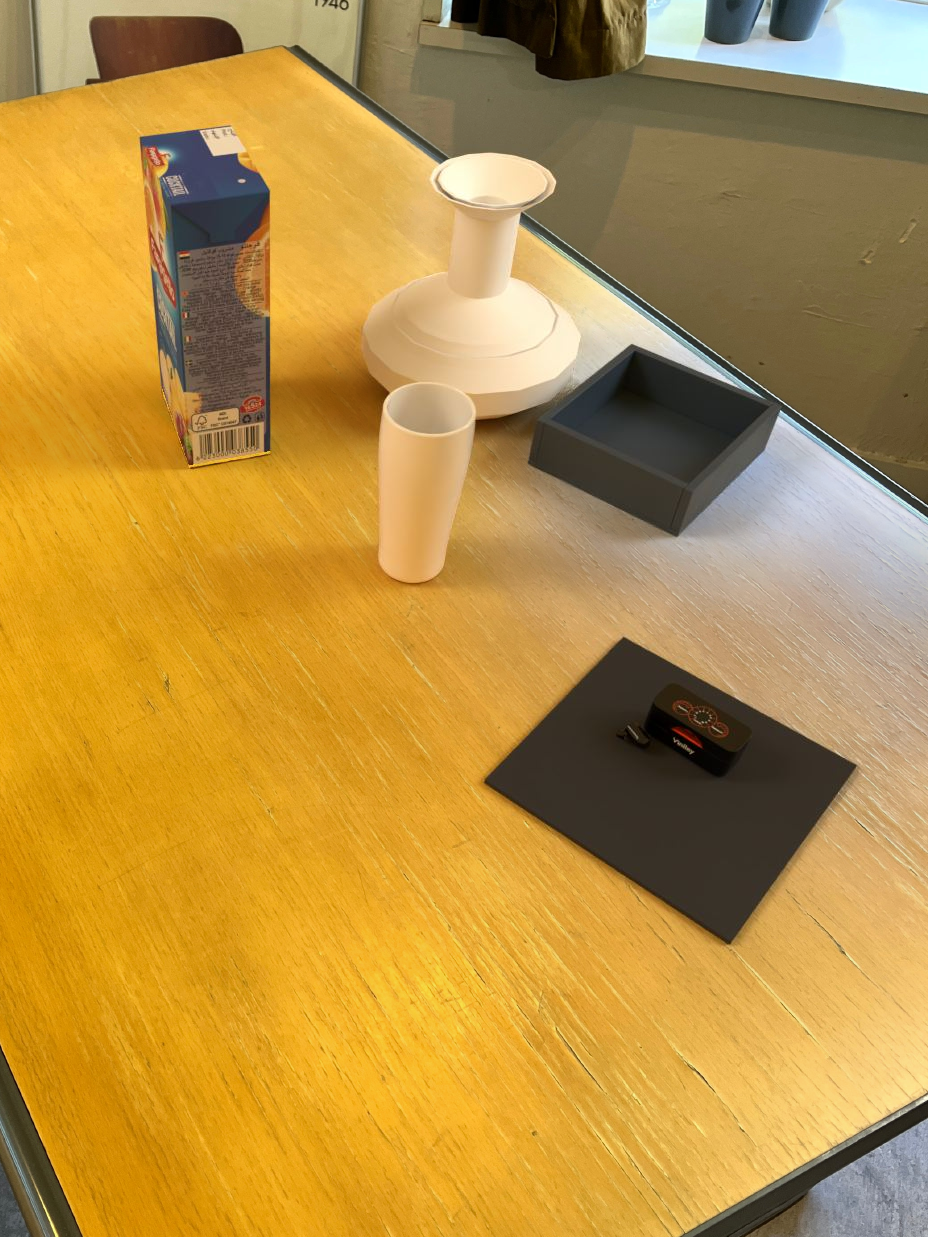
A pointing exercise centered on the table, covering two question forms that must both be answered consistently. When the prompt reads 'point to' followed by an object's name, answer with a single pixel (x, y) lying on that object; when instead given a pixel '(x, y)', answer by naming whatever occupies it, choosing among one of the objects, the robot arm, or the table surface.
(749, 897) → the mat
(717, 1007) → the table surface
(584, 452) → the box
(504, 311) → the white ceramic vase shape
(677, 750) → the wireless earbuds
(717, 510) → the table surface
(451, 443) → the drinking glass
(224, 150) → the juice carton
